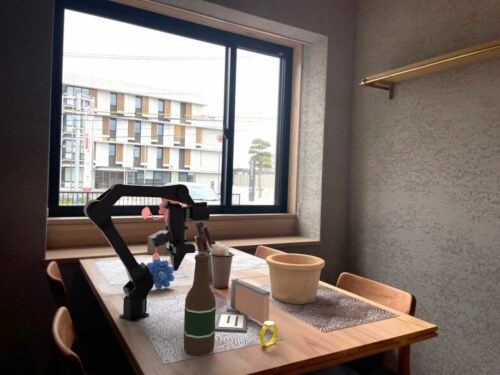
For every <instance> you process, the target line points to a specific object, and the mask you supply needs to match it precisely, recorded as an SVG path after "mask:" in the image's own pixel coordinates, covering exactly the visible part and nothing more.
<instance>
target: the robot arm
mask: <svg viewBox="0 0 500 375" xmlns="http://www.w3.org/2000/svg"><path fill="white" fill-rule="evenodd" d="M122 197H125V198H126V197H128V198H130V197H131V198H133V197H134V198H156V199H157V198H158V199H159V198H160V199H161V198H163V199H167V200H172V201H177V202H179V203H180V204H179V203H171V202H170V201H167V202H166V203H165V204H164V205H163V206H162V208H164V209H168V218H167V225H166V224H165V226H164V230H159V231H160V232H159V231H157V232H158V233H157V232H155V233H154V234H151V235H149V239H150V242H151V245H152V246H154V247H159V246H160V245H163V244H167V248H164V249H165V250H166V251H167V252H168V253H169V254H170V255H169V259H170V258H171V261H170V263H171V266H172V267H173V270H174V272H178V270H179V269H180V267H181V265H182V262H183V261H184V258H185V256H186V255H187V254H195V253H196V245H195V244H193V243H192V242H191V241H188V238H186V235H187V234H186V231H187V230H189V226H187V220H188V221H189V223H202V222H203V223H207V222H209V220H210V216H211V213H210V208H209V206H208V201H194V199H193V198H192V196H191V194H190V189H189V188H188V186H187V185H185V184H184V183H169V184H163V185H146V184H145V185H144V184H143V185H142V184H140V185H139V184H125V183H124V184H123V183H119V182H118V183H117V182H116V183H113V184H112V185H111V186H110V187H109V188H108V189H106V190H105V191H104V192H103V193H101V194H100V195H99V196H98V197H96V198H95V199H90V200H87V202H86V203H85V204H84V206H83V213H84V215H85V216H86V217H87V219H89V220H90V221H91V222H92V223H93V224H94V225H95V227H97V229H99V230H100V231H101V233H102V234H103V236H104V237H105V239H106V240H107V242H108V244H109V245H110V246H111V248H112V250H113V251H114V252H115V254H116V255H117V257H118V259H119V260H120V262H121V264H123V266H124V268H125V271H126V274H127V277H128V279H129V281H127V282H126V284H124V285H123V287H122V290H123V293H124V294H125V296H124V297H123V305H122V306H123V308H122V309H123V310H122V313H121V314H119V316H118V317H119V318H122V319H125V320H128V321H132V322H135V321H139V320H141V319H143V318H146V317H148V316H150V313H149V312H147V309H148V308H147V306H148V305H147V304H148V295H149V293H150V292H151V291H152V289H154V287H155V284H154V280H153V278H152V277H154V275H152V274H151V273H150V270H149V268H148V266H147V264H145V263H144V262H142V261H141V262H140V263H139V262H138V261H137V259H136V258H135V256H134V255H133V253H132V251H131V250H130V249H129V247H128V245H127V244H126V242H125V241H124V239H123V238H122V236H121V234H120V233H119V230H118V229H117V228H116V227H115V225H114V222H113V219H112V215H111V213H110V209H112V208H113V207H114V206H115V204H117V202H118V201H119V200H120V199H121V198H122ZM181 204H185V205H186V206H181ZM178 268H179V269H178Z"/></svg>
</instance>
